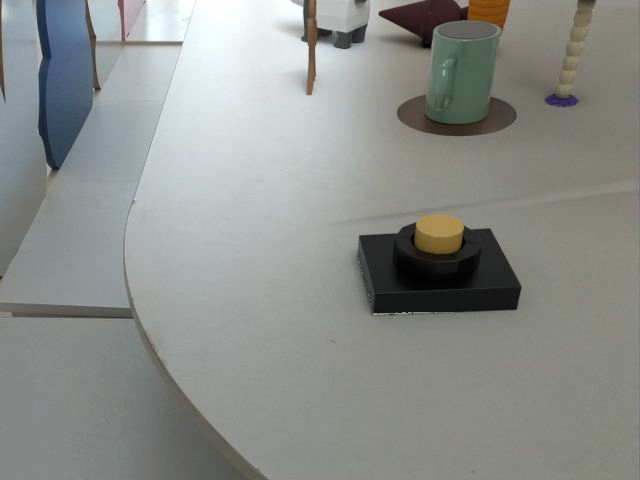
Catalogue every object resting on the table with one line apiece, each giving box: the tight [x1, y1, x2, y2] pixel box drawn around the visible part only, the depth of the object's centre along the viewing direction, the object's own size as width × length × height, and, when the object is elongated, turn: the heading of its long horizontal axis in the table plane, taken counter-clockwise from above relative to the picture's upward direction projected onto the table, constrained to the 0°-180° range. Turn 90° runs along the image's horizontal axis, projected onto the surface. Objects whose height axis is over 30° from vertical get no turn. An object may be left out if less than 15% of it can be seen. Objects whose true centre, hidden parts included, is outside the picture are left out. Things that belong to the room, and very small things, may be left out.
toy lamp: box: [543, 0, 597, 108], centre depth 84 cm, size 5×5×17 cm
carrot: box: [467, 0, 511, 35], centre depth 97 cm, size 5×5×15 cm
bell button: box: [414, 213, 465, 254], centre depth 62 cm, size 4×4×2 cm
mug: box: [423, 20, 502, 125], centre depth 85 cm, size 10×7×9 cm
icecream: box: [378, 0, 469, 47], centre depth 109 cm, size 7×7×15 cm
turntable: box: [396, 94, 518, 137], centre depth 89 cm, size 13×13×1 cm
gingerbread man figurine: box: [306, 0, 318, 96], centre depth 97 cm, size 9×4×12 cm, turn 167°
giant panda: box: [290, 0, 371, 49], centre depth 115 cm, size 15×6×10 cm, turn 43°
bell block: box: [357, 221, 523, 314], centre depth 64 cm, size 11×9×4 cm
